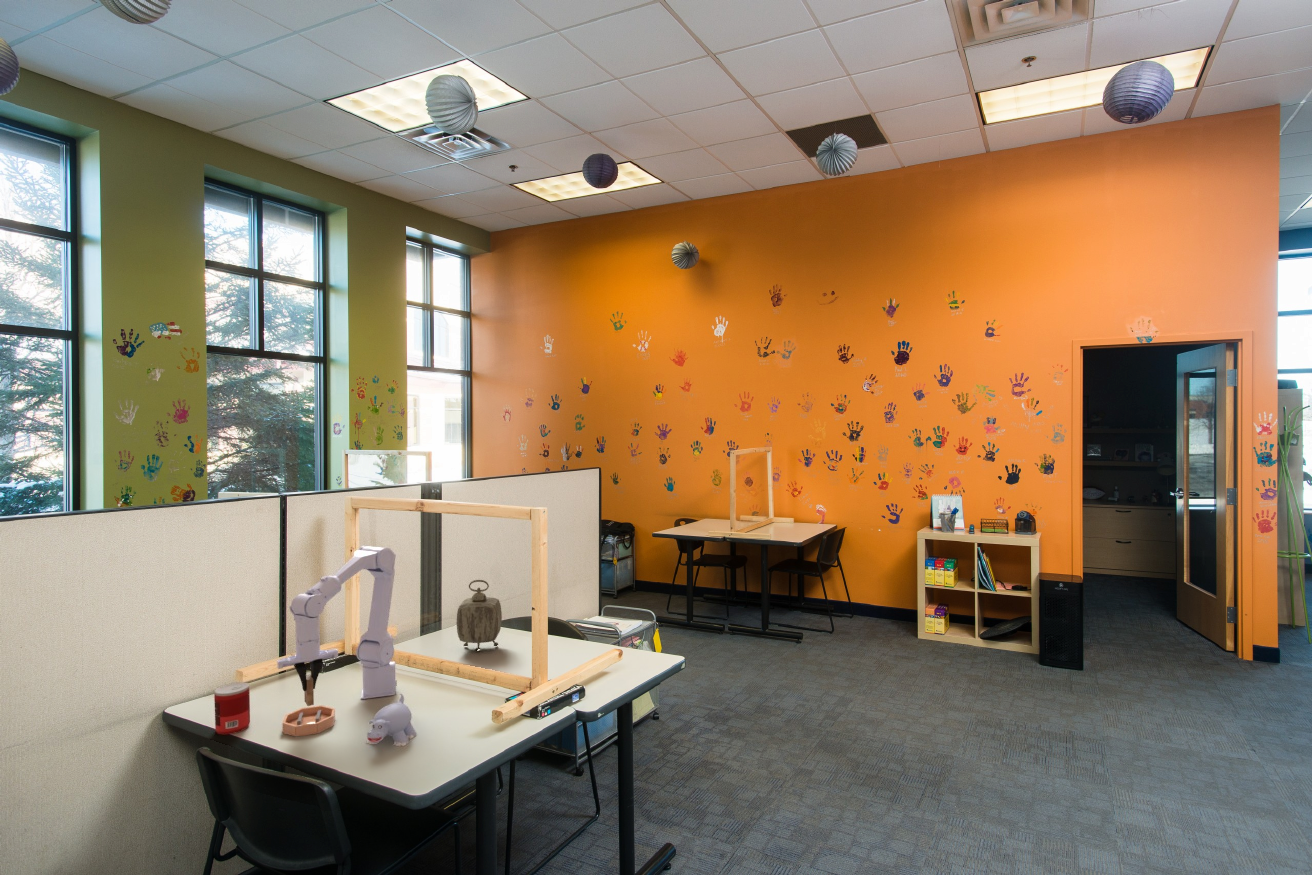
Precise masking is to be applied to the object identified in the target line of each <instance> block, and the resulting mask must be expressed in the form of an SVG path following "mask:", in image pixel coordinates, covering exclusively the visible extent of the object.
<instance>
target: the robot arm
mask: <svg viewBox="0 0 1312 875" xmlns="http://www.w3.org/2000/svg"><path fill="white" fill-rule="evenodd" d="M352 554H353V555H352V557H351V558H349V560H348V561H347V562H345V564H344V565H343V566H341V568H339V569H338V571H336V572H335V573H334V574H333V575H326V576H325V575H324V576H321V578H320V580H319V581H318V582H317V583H316V584H314V585H313V586H312V587H309V588H308V589H307V590H306V592H305V593H299V594H298V595H296V596H295V597H293V599H292V601H291V604H290V606H289V611H290V613H291V614H292V615H293V621H294V622H295V623H294V624H295V654H294V655H293V654H292V655H291V656H288V657H284V658H280V659H277V660H276V664H277V667H276V668H277V669H278V670H280V669H283V668H286V667H292V666H294V668H295V670H296V672H297V674H298V676H299V679H300V682H301V687H302V690H303V691H307V683H306V675H307V669H308V668H307V667H306V666H307V665H306V664H307V663H309V664H310V665H309V667H310V675H311V676H312V678H313V690H315V689H316V684H317V680H318V677H319V674H320V672H321V670H322V668H323V665H324V661H323V660H327V659H332V658H333V659H337V658H338V657H339V650H338V649H337V648H332V649H324V650H323V649H322V650H321V645H320V643H321V641H320V640H321V638H320V635H321V634H320V615H321V614H322V613H323V611H324V609H325V607H326V605H327V603H328V602H329V601H330V600H331V599H333V598H334V597H335V596H336V595H338V594H339V593H340V592H341V591H342V585H343V584H344V583H346V582H347V581H349V580H350V579H351V578H353V577H354V576H356V575H357V574H358V573H359V572H361V571H362V570H367V571H368V572H369V573H370V574H371V575H372V576H373V577H374V583H373V588H372V590H373V591H372V596H371V603H370V604H371V605H370V612H369V618H368V627H367V631H365V632H364V633H363V634H362V635H361V636H360V639H359V643H358V645H357V647H356V651H355V653H356V654H355V656H356V658H357V660H359V661H360V665H361V666H362V688H361V696H360V699H361V700H366V699H372V698H373V699H375V698H380V697H388V696H395V695H396V690H397V689H396V688H397V684H398V682H397V681H398V680H397V679H396V674H397V673H396V661H392V659H393V657H394V654H395V647H394V637H393V635H391V634H390V633H389V632H388V627H389V618H390V612H391V604H392V596H393V590H394V589H393V588H394V581H395V563H396V556H397V555H396V554H395V552H394V551H393V550H392V549H391V548H390V547H379V546H370V545H361V546H360V547H359V548H358V549H356V550H355V551H354V552H353V553H352Z"/></svg>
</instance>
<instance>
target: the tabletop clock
mask: <svg viewBox="0 0 1312 875" xmlns="http://www.w3.org/2000/svg"><path fill="white" fill-rule="evenodd" d="M477 582H479V583H483V584H486V585H487V586H486V588H484V589H481V587H477V589H475V588H474V589H473V588H471V585H472V584H473V583H477ZM489 587H490V586H489V583H488V582H487V581H486V580H483V579H475V580H472V581H470V582H469V584H468V589H469V590H470V591H472V592H475V593H473V594H472V596H471V597H469V598H466V599H464V600H463V601H462V602H461V603H460V604H459V606H458V608H457V613H456V632H457V637H458V639H459V641H460V642H463V647H464V646H468V647H469V644H468V643H470V644H471V643H472V644H477V647H476V649H477V650H478V649H481V647H480V644H482V643H490V642H491V643H492V642H493V647H494V646H497V645H498V646H499V643H498V642H496V639H497V638H498V635H499V634H500V631H501V629H502V628H501V627H502V619H503V616H502V615H503V614H502V604H501V602H500V599H498V598H496V597H492V596H490V597H488V596H487V595H486V594H485V593H484V592H485V591H487V590H488V589H489ZM498 646H497V647H498ZM476 649H475V650H476Z"/></svg>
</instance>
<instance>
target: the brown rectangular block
mask: <svg viewBox="0 0 1312 875" xmlns="http://www.w3.org/2000/svg"><path fill="white" fill-rule="evenodd" d="M306 683H307V691H304V690H303V691H304V692H303V693H304V695H303V696H304V703H305V704H306V706H307V707H311V706H314V704H315V703H314V702H315V701H314V699H315V696H314V692H315V691H314V689H313V678H312V676H311V674H306Z"/></svg>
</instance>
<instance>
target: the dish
mask: <svg viewBox="0 0 1312 875" xmlns="http://www.w3.org/2000/svg"><path fill="white" fill-rule="evenodd" d="M335 720H336V708H335V707H331V706H326V705H315V706H314V705H312V706H307V707H302V708H299V709H296V710H294V711H292V712H289V713H288V714H285V715H284V717H283V720H282V724H281V725H282V734H286V735H290V736H293V737H303V736H309V735H315V734H319V733H321V732H324V731H325V730H327V729H330V728H331V727H334V725H335Z"/></svg>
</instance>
